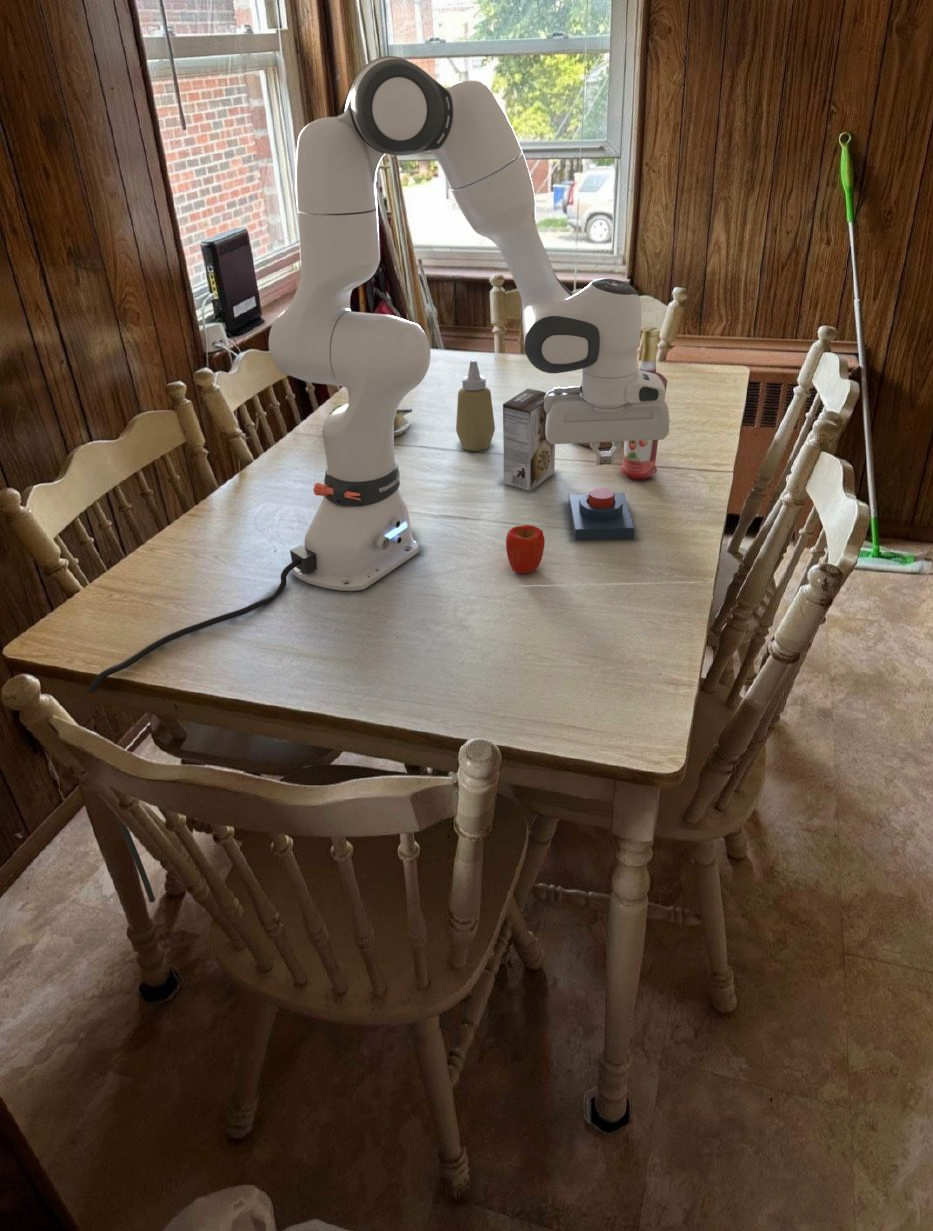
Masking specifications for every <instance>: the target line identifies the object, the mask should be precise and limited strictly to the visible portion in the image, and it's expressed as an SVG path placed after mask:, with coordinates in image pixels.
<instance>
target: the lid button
mask: <svg viewBox="0 0 933 1231" xmlns="http://www.w3.org/2000/svg"><path fill="white" fill-rule="evenodd" d="M588 493H589V498H588V504H589V505H590V506H592V507H596V508H608V507H611V506H613V505H614V493H615V491H614V490H613V489H611V488H609V487H604V486H599V487H597V486H596V487H593V488H591V489H590V490H589V491H588Z"/></svg>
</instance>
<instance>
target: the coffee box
mask: <svg viewBox="0 0 933 1231" xmlns="http://www.w3.org/2000/svg"><path fill="white" fill-rule="evenodd" d="M547 393H548V392H545V391H542V390H538V389H533V388H526V389H524V390H522V391H521V392H520V393H518V394H517V395H515V396H513V397H512V398H511V399H509V400H507V401H506V402H504V403H502V434H503V435H502V436H503V437H502V438H503V440H502V441H503V443H502V444H503V447H502V448H503V450H502V452H503V484H504V485H508V486H512V487H515V488H519V489H522V490H525V491H530V492H531V491H533V490H535V488H536V487H538V486H539V485H540V484H542V483H544V481H546V480H547V479H549V478H550V477H551V476H552V475H554V474H555V465H556V464H555V460H556V458H555V456H556V444H550V443H549V442H548V440H547V439H546V435H545V424H546V416H547V413H546V412H545V410H544V397H545V395H546V394H547Z"/></svg>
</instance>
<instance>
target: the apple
mask: <svg viewBox="0 0 933 1231" xmlns="http://www.w3.org/2000/svg"><path fill="white" fill-rule="evenodd" d="M545 541H546V539H545V535H544V531H543V529H541V528H539V527H538V526H535V525H530V524H523V525H517V526H514V527H512V528H509V530H508V532H507V534H506V537H505V549H506V550H505V551H506V556H507V559H508V563H509V565H510V568H511V569H512V571H513V572H514V573H516V574H521V575H523V574H531V573H532V572H534V571H536V570H537V569H538V567H539V565H540V564H541V561H542V558H543V556H544V550H545V543H546V542H545Z"/></svg>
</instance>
